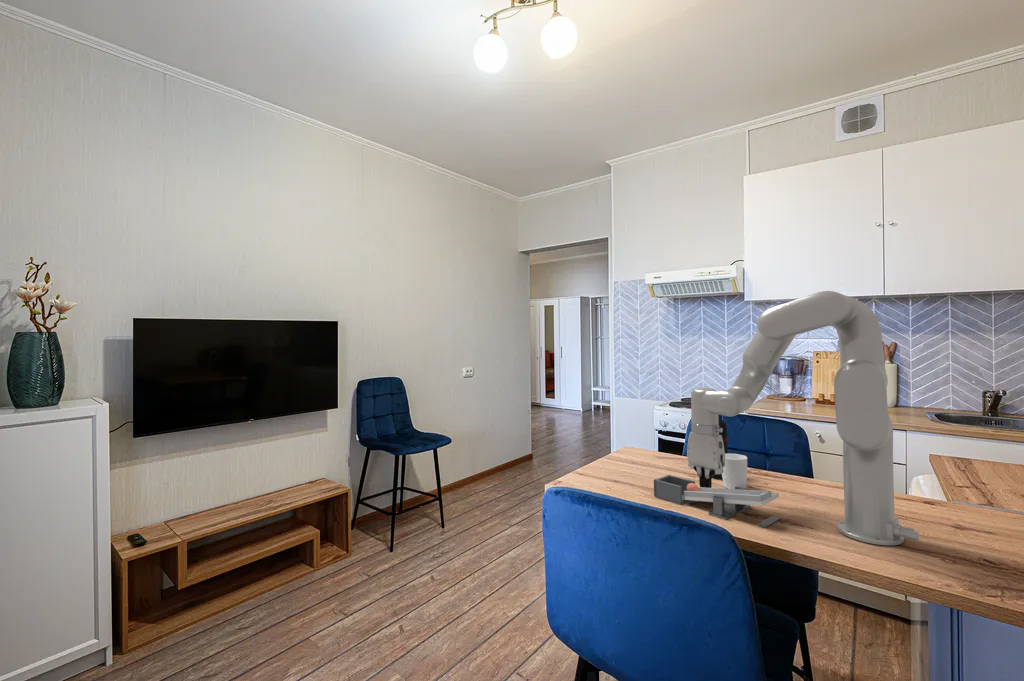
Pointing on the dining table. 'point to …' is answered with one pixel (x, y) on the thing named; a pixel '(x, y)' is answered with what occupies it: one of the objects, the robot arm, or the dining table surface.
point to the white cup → (735, 471)
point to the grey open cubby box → (671, 488)
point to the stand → (732, 510)
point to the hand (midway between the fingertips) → (705, 489)
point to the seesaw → (732, 496)
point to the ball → (692, 487)
